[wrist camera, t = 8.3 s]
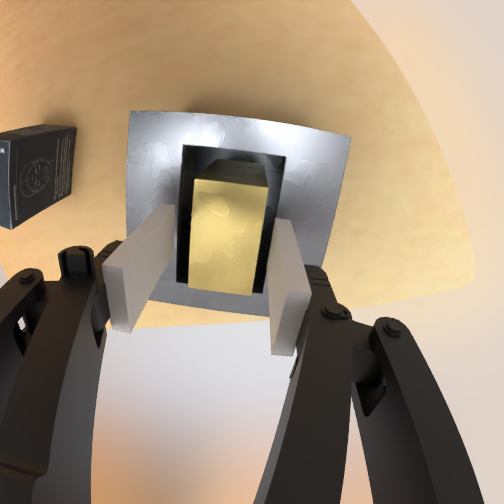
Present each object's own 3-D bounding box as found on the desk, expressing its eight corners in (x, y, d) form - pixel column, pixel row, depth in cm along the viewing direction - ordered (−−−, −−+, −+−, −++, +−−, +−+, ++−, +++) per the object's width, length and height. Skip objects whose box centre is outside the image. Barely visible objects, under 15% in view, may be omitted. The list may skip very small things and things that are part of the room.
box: (41, 124, 24) (-25, 137, 15) (78, 127, 25) (10, 140, 15) (37, 188, 27) (-23, 219, 18) (71, 196, 28) (11, 232, 18)
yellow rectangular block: (216, 158, 21) (194, 178, 13) (263, 164, 21) (268, 188, 14) (208, 234, 23) (188, 287, 16) (252, 239, 23) (251, 295, 16)
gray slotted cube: (182, 112, 24) (130, 111, 14) (311, 128, 25) (351, 137, 14) (173, 231, 30) (131, 296, 19) (289, 246, 30) (306, 320, 19)
